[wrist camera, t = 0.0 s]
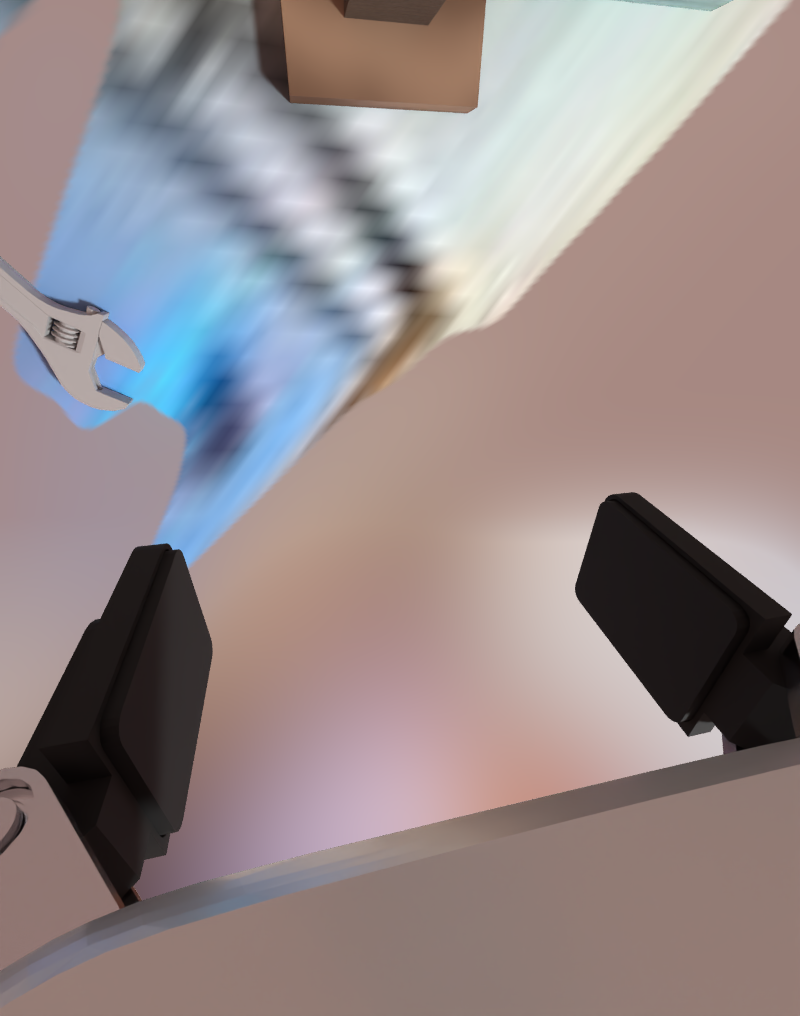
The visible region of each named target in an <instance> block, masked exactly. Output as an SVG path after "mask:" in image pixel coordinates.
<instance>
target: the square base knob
mask: <svg viewBox="0 0 800 1016" xmlns="http://www.w3.org/2000/svg"><path fill="white" fill-rule="evenodd" d="M445 1H446V0H344V18H353V19H364V20H374V21H385V22H396V23H406V24H417V25H429V24H430V22H431V21H432V19H433V18H434V16H435V15H436V14H437V12H438V11H439V9H440V8H441V7H442V5H443V4H444V2H445Z"/></svg>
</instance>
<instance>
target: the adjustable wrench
mask: <svg viewBox="0 0 800 1016" xmlns="http://www.w3.org/2000/svg"><path fill="white" fill-rule="evenodd" d="M0 306H1V307H2V308H3V309H5V310H6V311H7V312H8V313H9V314H10V315H12V316H13V317H14V318H15V319H16V320H17V321H18V322H19V323H20V324H21V325H22V327H23V328H24V329H25V330H26V331H27V333H28V334H29V335H30V337H31V338H32V339H33V341H34V342H35V344H36V345H37V346H38V348H39V349H40V350H41V352H42V353H43V355H44V356H45V358H46V360H47V361H48V363H49V365H50V366H51V368H52V370H53V371H54V373H55V375H56V377H57V378H58V380H59V382H60V383H61V385H62V386H63V387H64V389H65V390H66V391H67V392H68V393H69V394H70V395H72V396H73V397H74V398H75V399H77V400H78V401H80V402H82V403H84V404H86V405H88V406H90V407H93V408H96V409H100V410H109V411H116V410H121V409H125V408H126V407H127V406H128V405H129V404H130V403H131V402H132V400H133V399H132V398H130V397H127V396H125V395H122V394H120V393H117V392H115V391H112V390H110V389H107V388H105V387H102V386H101V383H100V381H99V378H98V375H97V373H96V370H95V367H94V366H95V363H96V360H97V358H98V357H99V356H101V355H103V354H105V357H106V359H108V360H110V361H113V362H115V363H117V364H120V365H122V366H124V367H127V368H129V369H131V370H134V371H136V372H138V373H139V372H140V371H141V370H142V369H143V368H144V365H145V361H144V359H143V356H142V355H141V353H140V351H139V349H138V348H137V346H136V345H135V343H134V342H133V341H132V339H131V338H130V337H129V336H128V335H127V334H126V333H125V332H124V331H123V330H122V329H120V328H119V327H118V326H117V325H116V324H114V323H113V322H112V321H111V320H109V319H108V316H109V313H108V312H105V311H102V312H100V310H99V309H97V308H95V307H93V306H87V309H86V312H84V311H80V310H76V309H73V308H69V307H65V306H63V305H61V304H58V303H56V302H54V301H53V300H51V299H49V298H48V297H46V296H44V295H43V294H42V293H40V292H39V291H38V290H36V289H35V288H34V286H33V285H32V284H31V283H30V282H29V281H28V280H27V279H25V278H24V277H23V276H22V275H21V274H20V273H19V272H18V271H16V270H15V269H14V268H13V267H12V266H11V265H10V264H9V263H7V262H6V261H5V260H4V259H3V258H2V257H1V256H0ZM54 319H56V320H58V321H54ZM53 321H54V324H55V325H56V326H53ZM52 326H53V327H52ZM52 329H53V330H54V331H51V330H52Z"/></svg>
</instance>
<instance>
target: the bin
mask: <svg viewBox="0 0 800 1016" xmlns="http://www.w3.org/2000/svg"><path fill="white" fill-rule="evenodd" d="M618 1H626V2H635V3H644V4H653V5H662V6H671V7H679V8H688V9H697V10H706V11H713V10H715V9H717V8H719V7H721V6H723V5H725V4H727V3H729V2H731V1H733V0H618Z"/></svg>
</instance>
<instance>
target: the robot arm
mask: <svg viewBox="0 0 800 1016" xmlns="http://www.w3.org/2000/svg"><path fill="white" fill-rule="evenodd" d="M575 592H576V596H577V598H578V600H579V601H580V603H581V604H582V605H583V606H584V608H585V609H586V611H587V612H588V613H589V614H590V616H591V617H592V618H593V620H594V621H595V622H596V624H597V625H598V626H599V628H600V629H601V630H602V632H603V633H604V634H605V636H606V637H607V638H608V639H609V641H610V642H611V643H612V645H613V646H614V647H615V649H616V650H617V651H618V653H619V654H620V655H621V656H622V658H623V659H624V660H625V662H626V663H627V664H628V666H629V667H630V668H631V670H632V671H633V672H634V674H636V676H637V677H638V679H639V680H640V682H641V683H642V684H643V685H644V687H645V688H646V689H647V691H648V692H649V693H650V695H651V696H652V697H653V699H654V700H655V701H656V703H657V704H658V705H659V706H660V708H661V709H662V710H663V712H664V713H665V714H666V715H667V717H668V718H669V719H671V720H672V721H674V722H677V723H678V724H679V726H680V727H681V728H682V730H683V731H684V732H685V733H686V735H687V736H688V737H689V736H694V735H698V734H702V733H706V732H710V731H711V730H712V729H713V727H714V726H716V727H717V728H718V729H719V730H720V732H721V733H722V742H723V755H719V756H715V757H711V758H707V759H702V760H698V761H693V762H689V763H685V764H680V765H676V766H672V767H668V768H663V769H659V770H655V771H650V772H646V773H642V774H638V775H633V776H629V777H625V778H621V779H617V780H612V781H608V782H604V783H600V784H596V785H591V786H587V787H583V788H578V789H575V790H570V791H566V792H562V793H557V794H553V795H549V796H545V797H541V798H537V799H532V800H528V801H524V802H520V803H516V804H511V805H507V806H503V807H499V808H495V809H491V810H486V811H482V812H478V813H474V814H470V815H466V816H462V817H457V818H453V819H449V820H445V821H441V822H437V823H433V824H429V825H425V826H421V827H417V828H412V829H408V830H404V831H400V832H396V833H392V834H388V835H383V836H379V837H375V838H371V839H367V840H363V841H359V842H355V843H351V844H347V845H343V846H338V847H334V848H330V849H326V850H322V851H318V852H314V853H310V854H306V855H302V856H299V857H295V858H291V859H287V860H283V861H279V862H276V863H272V864H269V865H264V866H260V867H257V868H253V869H249V870H245V871H241V872H238V873H234V874H230V875H227V876H222V877H219V878H215V879H212V880H207V881H204V882H200V883H197V884H193V885H190V886H187V887H184V888H181V889H178V890H174V891H171V892H168V893H165V894H162V895H159V896H155V897H152V898H149V899H146V900H143V901H142V900H141V898H140V896H139V895H138V893H137V891H136V890H135V888H134V884H135V883H136V882H137V881H138V880H139V879H140V876H141V871H142V867H143V863H144V860H145V859H150V858H154V857H159V856H163V855H166V853H167V848H168V842H169V837H170V833H173V832H177V831H179V829H180V827H181V825H182V821H183V817H184V811H185V805H186V800H187V794H188V788H189V783H190V777H191V771H192V766H193V761H194V755H195V750H196V744H197V738H198V733H199V727H200V722H201V716H202V710H203V705H204V699H205V693H206V688H207V683H208V677H209V671H210V665H211V659H212V641H211V638H210V634H209V631H208V629H207V625H206V622H205V619H204V616H203V614H202V610H201V607H200V604H199V601H198V598H197V595H196V592H195V589H194V586H193V583H192V580H191V577H190V574H189V571H188V568H187V565H186V562H185V559H184V556H183V553H182V551H181V550H179V549H178V550H172V548H171V546H170V545H169V544H158V545H149V546H140V547H136V548H135V549H134V550H133V552H132V554H131V556H130V558H129V560H128V562H127V564H126V566H125V568H124V570H123V573H122V575H121V577H120V579H119V581H118V583H117V585H116V587H115V589H114V591H113V594H112V596H111V598H110V600H109V602H108V604H107V606H106V608H105V610H104V612H103V614H102V617H101V619H97V620H94V621H93V622H91V623H90V624H89V625H88V627H87V628H86V630H85V632H84V634H83V636H82V638H81V640H80V642H79V644H78V646H77V648H76V650H75V652H74V654H73V656H72V658H71V660H70V662H69V664H68V666H67V668H66V670H65V672H64V674H63V676H62V678H61V680H60V682H59V684H58V686H57V688H56V690H55V692H54V694H53V696H52V698H51V700H50V702H49V704H48V706H47V708H46V710H45V712H44V714H43V716H42V718H41V720H40V722H39V724H38V726H37V728H36V730H35V732H34V734H33V736H32V738H31V740H30V741H29V743H28V746H27V747H26V749H25V752H24V754H23V756H22V757H21V760H20V761H19V763H18V765H17V767H13V768H4V769H1V770H0V1016H800V624H798V625H797V627H796V628H795V629H794V630H793V632H792V633H791V632H790V631H789V630H788V629H786V628H785V627H784V625H785V624H786V623H787V621H788V620H789V618H790V617H791V615H792V614H791V613H790V612H789V611H787V610H786V609H785V608H783V607H782V606H781V605H780V604H778V603H777V602H776V601H775V600H773V599H772V598H771V597H769V596H768V595H767V594H766V593H764V592H763V591H762V590H761V589H759V588H758V587H756V586H755V585H754V584H753V583H752V582H750V581H749V580H748V579H747V578H745V577H744V576H743V575H741V574H740V573H739V572H737V571H736V570H735V569H734V568H732V567H731V566H730V565H729V564H727V563H726V562H725V561H723V560H722V559H721V558H720V557H718V556H717V555H716V554H715V553H713V552H712V551H711V550H709V549H708V548H707V547H706V546H704V545H703V544H702V543H700V542H699V541H698V540H697V539H695V538H694V537H693V536H692V535H690V534H689V533H688V532H686V531H685V530H684V529H683V528H681V527H680V526H679V525H678V524H676V523H675V522H674V521H672V520H671V519H670V518H669V517H667V516H666V515H665V514H664V513H662V512H661V511H660V510H658V509H657V508H656V507H654V506H653V505H652V504H651V503H649V502H648V501H647V500H645V499H644V498H643V497H642V496H641V495H639V494H637V493H633V492H631V493H621V494H613V495H610V496H608V497H607V498H606V499H605V502H602V503H601V504H600V506H599V509H598V512H597V516H596V519H595V523H594V526H593V529H592V532H591V535H590V539H589V542H588V545H587V549H586V552H585V555H584V559H583V562H582V565H581V569H580V572H579V575H578V578H577V582H576V585H575Z"/></svg>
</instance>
